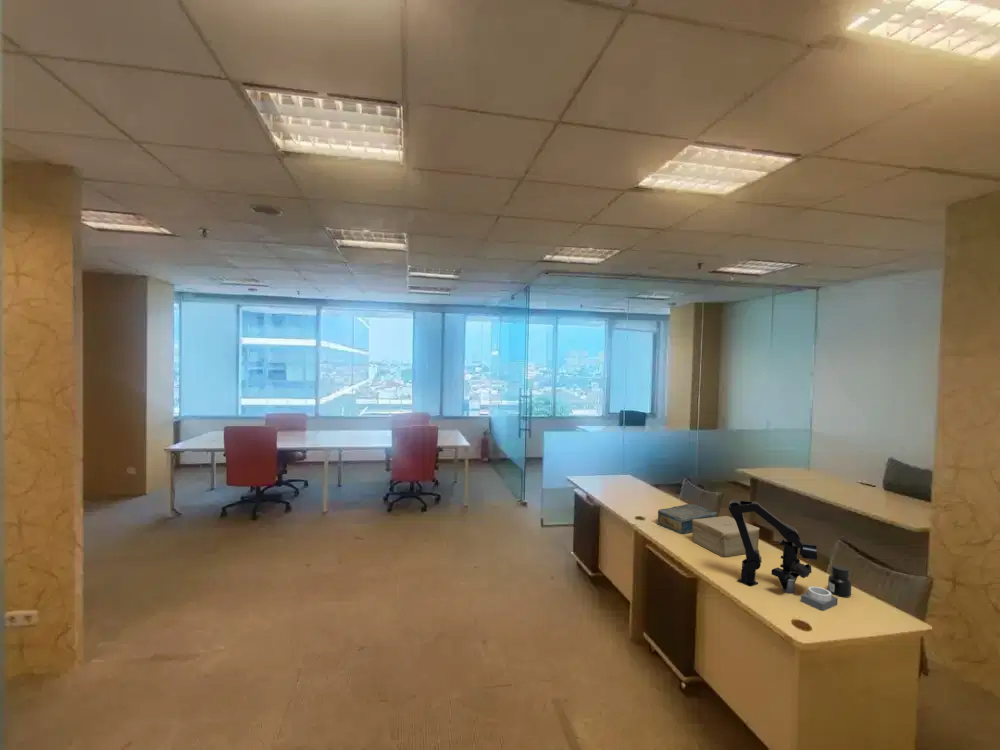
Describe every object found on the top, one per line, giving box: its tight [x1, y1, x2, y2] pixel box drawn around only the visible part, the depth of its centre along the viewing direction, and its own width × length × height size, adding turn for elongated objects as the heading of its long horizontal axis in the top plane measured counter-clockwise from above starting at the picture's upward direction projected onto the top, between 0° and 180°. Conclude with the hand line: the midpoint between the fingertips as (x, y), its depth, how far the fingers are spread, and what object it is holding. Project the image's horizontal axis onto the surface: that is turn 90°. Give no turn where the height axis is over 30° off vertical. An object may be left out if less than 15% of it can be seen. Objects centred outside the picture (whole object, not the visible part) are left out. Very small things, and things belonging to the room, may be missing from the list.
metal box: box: [657, 503, 719, 535], centre depth 314 cm, size 21×32×10 cm, turn 119°
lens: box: [781, 574, 796, 595], centre depth 229 cm, size 5×5×7 cm
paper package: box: [692, 515, 760, 558], centre depth 281 cm, size 27×26×14 cm
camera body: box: [800, 586, 839, 612], centre depth 218 cm, size 12×9×6 cm
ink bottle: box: [827, 564, 853, 598], centre depth 228 cm, size 10×9×12 cm
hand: (788, 588), depth 229 cm, fingers closed on lens, 5 cm apart
